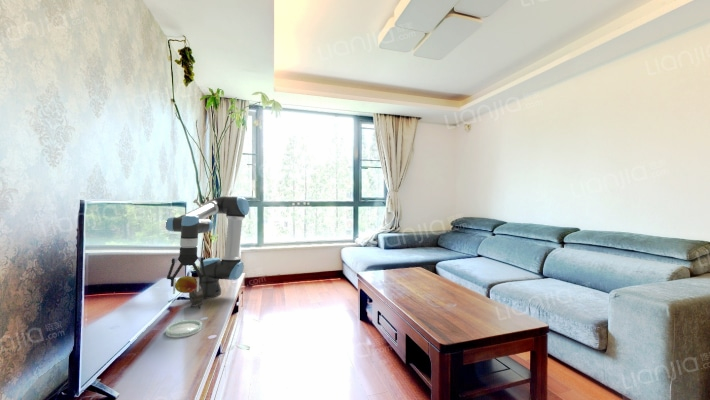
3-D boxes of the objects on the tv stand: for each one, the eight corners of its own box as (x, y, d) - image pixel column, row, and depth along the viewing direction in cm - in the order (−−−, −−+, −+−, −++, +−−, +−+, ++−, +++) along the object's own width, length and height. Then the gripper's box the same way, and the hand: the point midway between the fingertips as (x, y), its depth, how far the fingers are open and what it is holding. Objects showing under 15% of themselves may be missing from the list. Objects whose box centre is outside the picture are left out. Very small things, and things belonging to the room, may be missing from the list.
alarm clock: (203, 308, 161) (204, 280, 161) (193, 310, 157) (194, 281, 157) (196, 302, 168) (198, 275, 168) (186, 305, 164) (188, 277, 164)
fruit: (201, 290, 143) (202, 275, 144) (188, 296, 134) (189, 279, 135) (183, 289, 145) (184, 273, 145) (170, 294, 136) (171, 278, 136)
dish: (166, 326, 137) (166, 322, 137) (201, 321, 145) (201, 317, 145) (164, 340, 124) (164, 336, 124) (202, 333, 132) (203, 329, 132)
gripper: (161, 248, 131) (158, 296, 131) (213, 247, 142) (211, 291, 142) (162, 246, 138) (159, 292, 137) (213, 245, 149) (210, 287, 148)
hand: (186, 291), depth 139 cm, fingers closed on fruit, 9 cm apart
